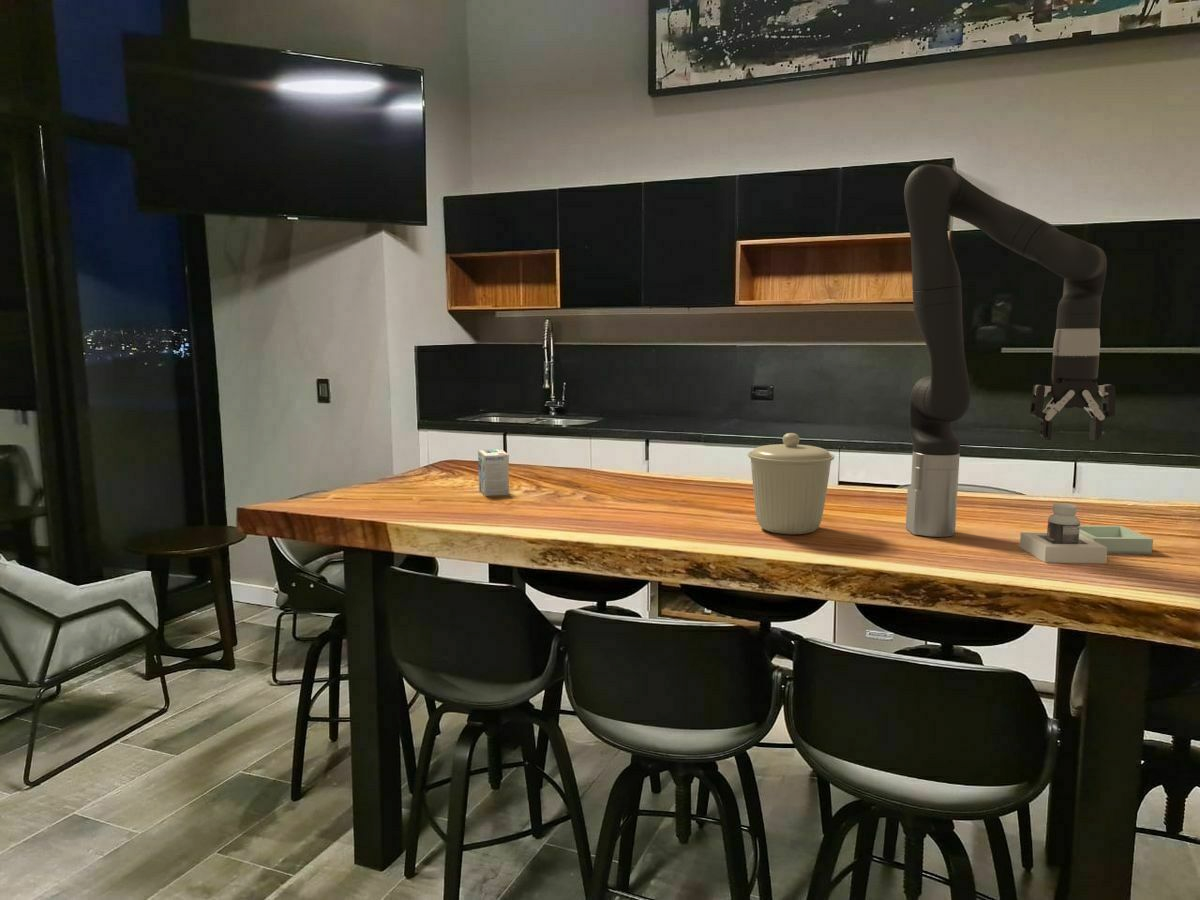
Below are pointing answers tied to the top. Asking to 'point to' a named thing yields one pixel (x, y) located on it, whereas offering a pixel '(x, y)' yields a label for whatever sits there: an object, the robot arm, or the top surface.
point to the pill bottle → (1063, 525)
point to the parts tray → (1118, 539)
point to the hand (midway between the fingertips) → (1070, 440)
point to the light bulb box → (493, 472)
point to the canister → (790, 485)
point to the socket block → (1063, 549)
